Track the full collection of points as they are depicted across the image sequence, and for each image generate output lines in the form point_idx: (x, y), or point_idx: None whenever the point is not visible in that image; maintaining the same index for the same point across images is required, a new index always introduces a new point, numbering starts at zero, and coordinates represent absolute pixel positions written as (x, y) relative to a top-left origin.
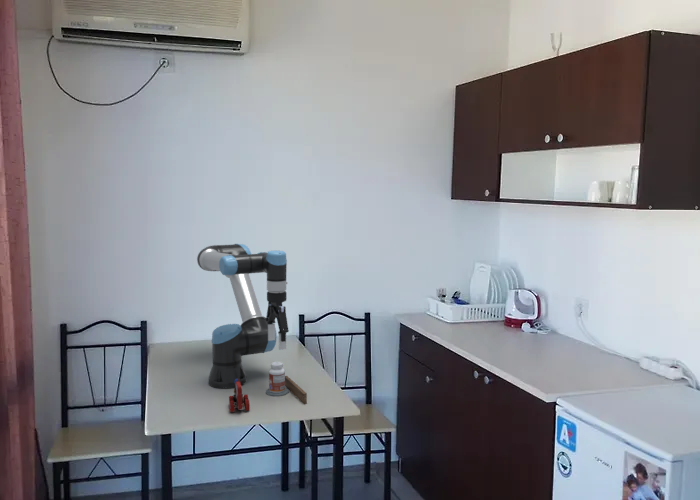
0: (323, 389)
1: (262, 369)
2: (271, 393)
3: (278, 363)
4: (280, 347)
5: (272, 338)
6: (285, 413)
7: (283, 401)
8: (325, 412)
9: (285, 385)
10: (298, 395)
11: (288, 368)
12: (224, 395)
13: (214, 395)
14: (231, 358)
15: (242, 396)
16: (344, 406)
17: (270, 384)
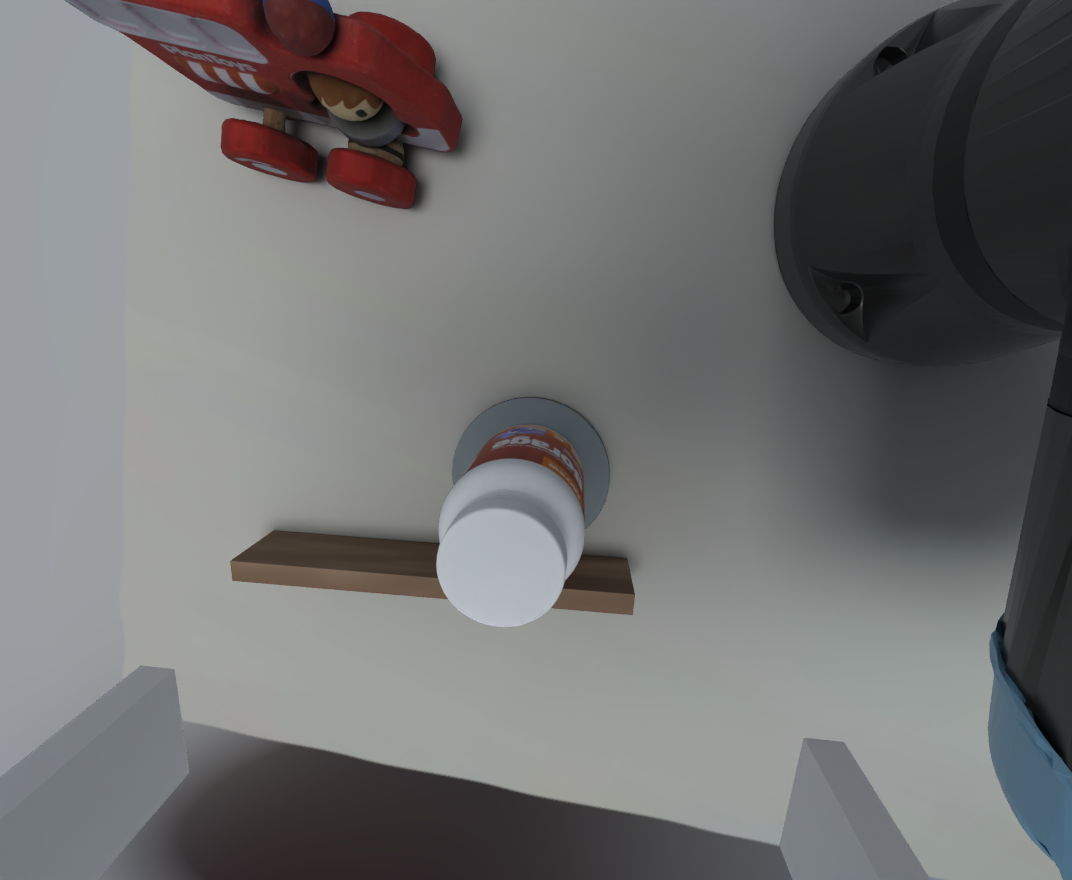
0: (453, 719)
1: None
2: (496, 422)
3: (491, 583)
4: (100, 714)
5: (805, 844)
6: (169, 379)
7: (358, 444)
8: (124, 577)
9: (599, 561)
10: (348, 547)
11: (942, 718)
12: (652, 89)
13: (694, 4)
14: (1016, 114)
15: (188, 69)
16: None
17: (508, 436)
